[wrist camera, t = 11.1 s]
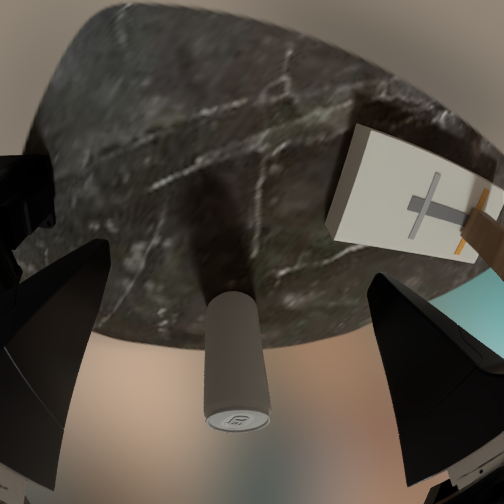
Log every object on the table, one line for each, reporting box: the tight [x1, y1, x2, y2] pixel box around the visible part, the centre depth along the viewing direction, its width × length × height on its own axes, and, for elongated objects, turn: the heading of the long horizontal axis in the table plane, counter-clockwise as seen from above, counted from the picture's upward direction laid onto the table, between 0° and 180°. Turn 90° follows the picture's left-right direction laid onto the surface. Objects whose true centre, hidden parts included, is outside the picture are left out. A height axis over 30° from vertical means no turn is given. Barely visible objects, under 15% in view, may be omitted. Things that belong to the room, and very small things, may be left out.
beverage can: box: [204, 291, 271, 433], centre depth 23 cm, size 5×5×12 cm
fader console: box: [325, 123, 504, 263], centre depth 22 cm, size 18×9×3 cm, turn 79°
